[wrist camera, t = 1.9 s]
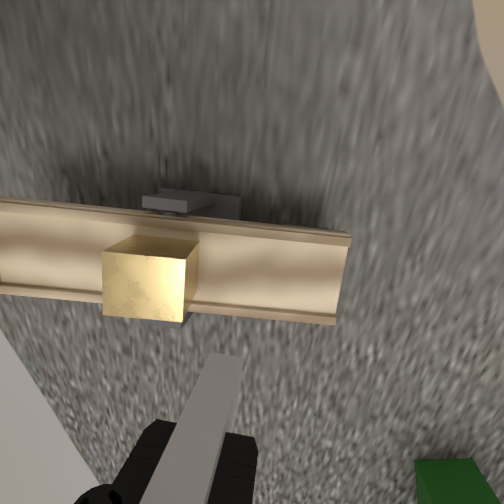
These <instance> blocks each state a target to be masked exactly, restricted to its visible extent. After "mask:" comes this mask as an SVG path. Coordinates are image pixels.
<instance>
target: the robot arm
mask: <svg viewBox="0 0 504 504" xmlns="http://www.w3.org/2000/svg"><path fill="white" fill-rule="evenodd" d="M242 366H243V358H242V357H236V356H230V355H224V354H218V353H212V352H210V355H209V357H208V359H207V361H206V363H205V365H204V367H203V369H202V372H201V374H200V376H199V378H198V380H197V382H196V384H195V386H194V389H193V391H192V393H191V395H190V397H189V399H188V401H187V403H186V406H185V408H184V410H183V412H182V414H181V416H180V418H179V420H178V423H174V422H169V421H164V420H159V419H156V420H155V421H154V422H153V423H152V424H150V425H149V426H148V427H147V428H146V429H144V431H143V433H142V434H141V436H140V438H139V439H138V441H137V443H136V446H134V448H133V450H132V451H131V453H130V455H129V458H127V460H126V462H125V463H124V465H123V467H122V468H121V470H120V472H119V473H118V475H117V477H116V478H115V480H114V482H113V484H103V485H100V486H97V487H94V488H91V489H90V490H88V491H87V492H85V493H84V494H82V495H81V496H80V497H79V498H78V500H76V502H75V503H74V504H252V498H253V490H254V481H255V474H256V465H257V457H258V449H257V446H256V443H255V439H254V437H250V436H245V435H239V434H234V433H232V431H233V427H234V422H235V418H236V414H237V410H238V402H239V393H240V384H241V375H242Z"/></svg>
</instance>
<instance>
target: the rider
mask: <svg viewBox="0 0 504 504" xmlns="http://www.w3.org/2000/svg"><path fill="white" fill-rule="evenodd" d="M199 243H200V241H193V240H183V239H173V238H164V237H154V236H144V235H134V234H133V235H131V236H130V237H128V238H126V239H124V240H122V241H120V242H118V243H116V244H114V245H112V246H110V247H109V248H107V249H105V250H103V251H101V256H102V296H103V315H109V316H120V317H131V318H141V319H152V320H163V321H173V322H183V320H184V318H185V316H186V314H187V311H188V309H189V307H190V305H191V303H192V301H193V298H194V296H195V294H196V292H197V276H198V259H199Z"/></svg>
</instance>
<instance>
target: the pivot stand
mask: <svg viewBox="0 0 504 504" xmlns="http://www.w3.org/2000/svg"><path fill="white" fill-rule="evenodd" d="M242 198H243V197H242V196H233V195H225V194H216V193H208V192H199V191H190V190H182V189H173V188H164V187H162V188H158V194H152V195H144V196H142V207H143V208H151V209H158V212H161V213H163V211H165V210H167V211H175V212H179V213H178V214H180V215H190V216H200V217H209V218H219V219H229V220H238V221H240V219H241V208H242ZM192 313H193V312H189V311H187V314H186V316H185V318H184V320H183V322H173V321H163V320H152V319H141V323H143V324H149V325H155V326H161V327H167V328H174V329H180V330H181V329H182V327H183V326H184V324H185V323H186V322H187V320H188V319H189V318H190V316H191V315H192Z"/></svg>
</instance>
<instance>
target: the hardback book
mask: <svg viewBox="0 0 504 504" xmlns="http://www.w3.org/2000/svg"><path fill="white" fill-rule="evenodd" d="M414 462H415V473H416V485H417V497H418V504H501V503H500V501H499V500H498V498H497V497H496V495H495V494H494V492H493V490H492V489H491V487H490V486H489V484H488V483H487V481H486V480H485V478H484V476H483V475H482V473H481V472H480V470H479V469H478V467H477V466H476V464H475V462H474V461H473V459H472V458H469V459H441V460H414Z"/></svg>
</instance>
